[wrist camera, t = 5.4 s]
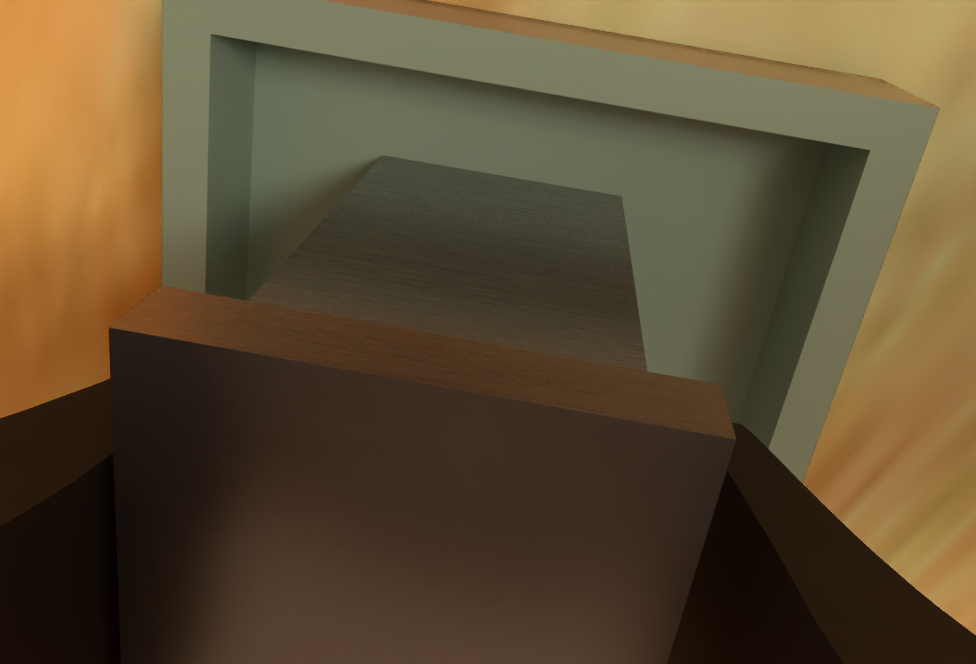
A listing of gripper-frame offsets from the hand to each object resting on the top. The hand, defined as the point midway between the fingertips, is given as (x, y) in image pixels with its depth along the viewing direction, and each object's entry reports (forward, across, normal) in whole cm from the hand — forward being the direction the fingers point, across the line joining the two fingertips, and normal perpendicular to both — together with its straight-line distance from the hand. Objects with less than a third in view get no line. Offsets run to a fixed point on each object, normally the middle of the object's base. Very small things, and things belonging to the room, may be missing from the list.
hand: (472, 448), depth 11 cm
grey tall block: (+3, 0, -1) cm, 3 cm away
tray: (+4, 0, 0) cm, 4 cm away
